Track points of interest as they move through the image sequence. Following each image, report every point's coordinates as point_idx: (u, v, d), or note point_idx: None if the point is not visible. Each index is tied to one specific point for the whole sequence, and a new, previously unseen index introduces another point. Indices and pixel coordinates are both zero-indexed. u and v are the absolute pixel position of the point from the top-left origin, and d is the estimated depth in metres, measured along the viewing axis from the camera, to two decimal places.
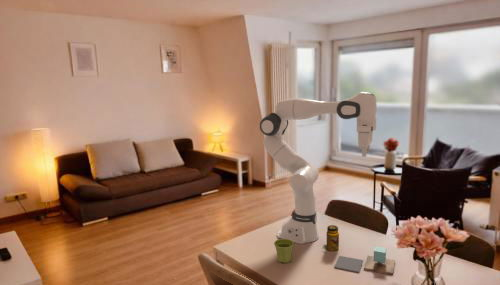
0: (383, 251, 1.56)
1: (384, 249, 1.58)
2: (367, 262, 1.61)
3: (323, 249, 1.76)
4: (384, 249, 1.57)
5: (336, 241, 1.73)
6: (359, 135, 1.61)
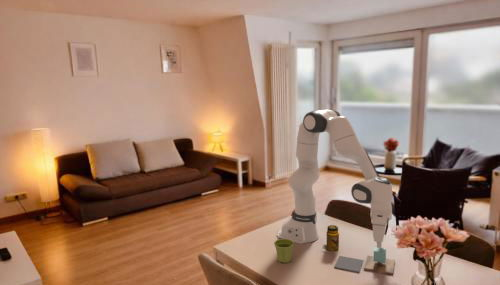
0: (383, 251, 1.56)
1: (384, 249, 1.58)
2: (367, 262, 1.61)
3: (323, 249, 1.76)
4: (384, 249, 1.57)
5: (336, 241, 1.73)
6: (374, 228, 1.48)
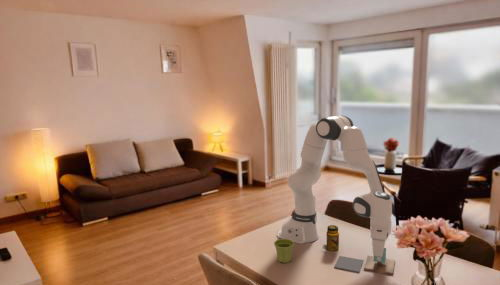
0: (383, 251, 1.56)
1: (384, 249, 1.58)
2: (367, 262, 1.61)
3: (323, 249, 1.76)
4: (384, 249, 1.57)
5: (336, 241, 1.73)
6: (374, 242, 1.49)
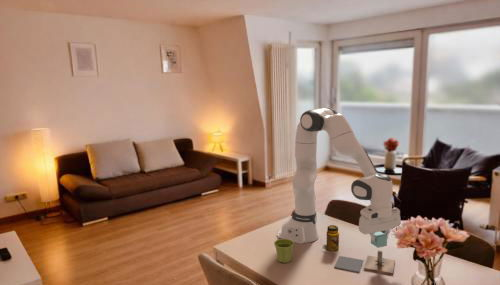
0: (378, 236, 1.55)
1: (383, 235, 1.56)
2: (367, 262, 1.61)
3: (323, 249, 1.76)
4: (382, 235, 1.56)
5: (336, 241, 1.73)
6: (360, 218, 1.54)
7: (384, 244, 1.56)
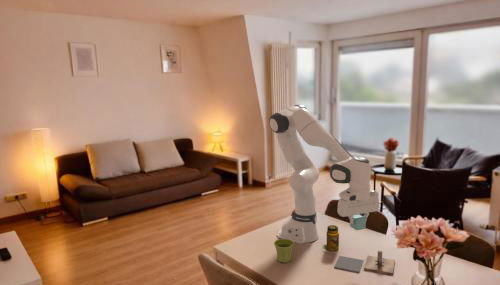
0: (357, 218, 1.56)
1: (361, 218, 1.56)
2: (367, 262, 1.61)
3: (323, 249, 1.76)
4: (360, 218, 1.56)
5: (336, 241, 1.73)
6: (339, 201, 1.54)
7: (363, 227, 1.56)
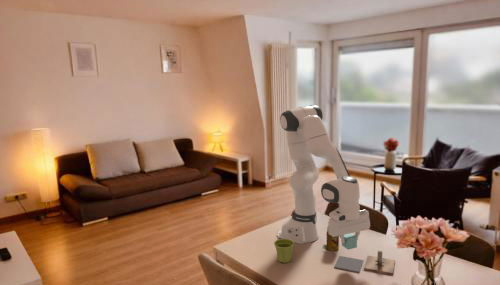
0: (348, 238, 1.57)
1: (352, 237, 1.58)
2: (367, 262, 1.61)
3: (323, 249, 1.76)
4: (351, 237, 1.58)
5: (336, 241, 1.73)
6: (329, 221, 1.56)
7: (354, 246, 1.58)
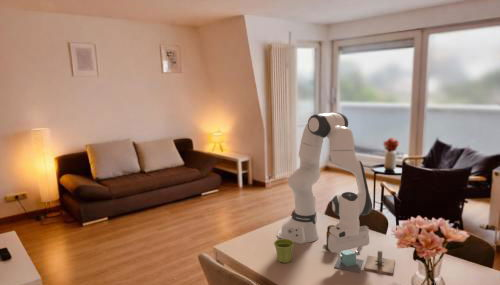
0: (347, 255, 1.59)
1: (352, 254, 1.59)
2: (367, 262, 1.61)
3: (323, 249, 1.76)
4: (351, 254, 1.59)
5: None
6: (329, 237, 1.58)
7: (353, 263, 1.60)
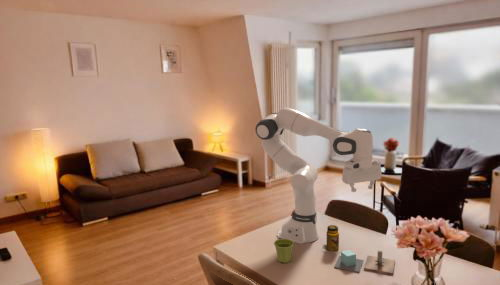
0: (347, 255, 1.59)
1: (352, 254, 1.59)
2: (367, 262, 1.61)
3: (323, 249, 1.76)
4: (351, 254, 1.59)
5: (336, 241, 1.73)
6: (343, 170, 1.66)
7: (353, 263, 1.60)
